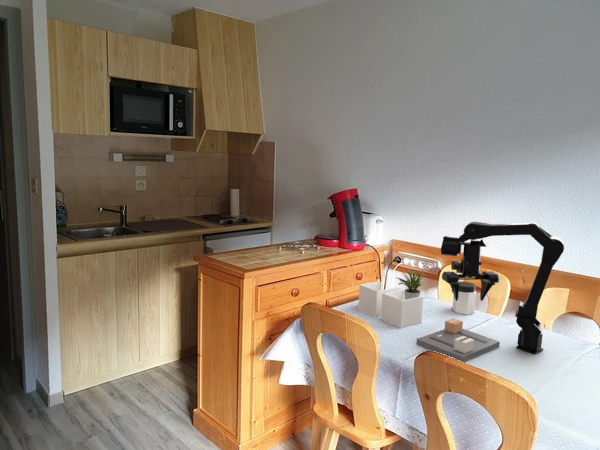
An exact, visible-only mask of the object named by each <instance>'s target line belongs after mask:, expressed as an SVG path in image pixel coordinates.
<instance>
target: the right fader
mask: <svg viewBox="0 0 600 450" xmlns="http://www.w3.org/2000/svg"><path fill="white" fill-rule="evenodd" d="M463 323H464V321H462V320H460V319H457V318H450V319H448V320H445V321H444V329H445V331H448V332H451V333H453V334H455V333H458V332H460V331H462V329H463V325H464V324H463Z"/></svg>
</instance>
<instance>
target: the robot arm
mask: <svg viewBox="0 0 600 450" xmlns="http://www.w3.org/2000/svg"><path fill="white" fill-rule="evenodd" d="M494 236H495V237H496V236H498V237H499V236H503V237H504V236H530V237H532V238H533V239H534V240H535V241H536V242H537V243H538V244H539V245H540V246H542V247H543V248H542V252H541V253H542V254H541V260H540V263H539V266H538V270H537V271H536V274H535V277H534V279H533V282H532V285H531V288H530V290H529V293H528V296H527V298H526V299H525V301H524V302H522V301H521V300H520V301H519V303H518V308H517V309H516V310H515V315H514V317H515V318H516V319H515V320H516V324H517V326H518V327H519V328H520V329H519V333H518V335H517V343H516V344H517V345H516V346H515V348H516V349H518V350H521V351H524V352H527V353H530V354H533V355H535V354H538V353H540V352H542V351H543V350H544V348H543V347H542V343H543V334H544V333H543V332H542V323H541V322H540V320H538V318H537V313H538V307H539V304H540V300H541V298H542V296H543V294H544V291H545V288H546V286H547V282H548V281H549V278H550V276H551V273H552V271H553V268H554V266H555V264H556V263H557V262H558V261H559V259H560V258H561V256H562V254H563V253H564V250H565V245H564V242H563V240H562V239H561V238H560V237H558V236H555V235H554V236H553V235H551V233H549V232H548V231H547V230H545V229H544V228H542V227H541V226H539V224H538V223H536V222H533V221H530V222H522V223H518V222H517V223H499V224H498V223H495V224H494V223H493V224H492V223H487V222H480V221H471V222H469V223H468V224H467V225H465V227H464V228H463V233H462V234H461V235H459V237H455V236H454V237H452V236H448V235H444V236H443V237H442V242H441V247H440V253H441V254H440V255H441V256H452V257H459V255H461V254H462V255H463V256H462V258H461V260H460V262H459V261H458V260H452V261H451V264H450V265H451V267H450V269H451V270H452V271H443V272H442V274H441V280H443V281H444V282H446V283H447V284H449V285H450V287H451V291H452V294H454V298H455V300H456V301H457V300H458V293H459V283H457V282H460V281H461V280H462V281H463V280H464V281H465V280H468V281H470V280H475V281H477V280H479V281H480V284H481V286H480V295H479V296H480V297H479V301H484V299H485V297H486V296H487V294H488V292H489V291H490V290H491V288H492V287H493V286H495V285H496V284H497V283H498V284H499V283H500V276H499V274H498V273H495V272H494V271H493V270H492V271H491V270H490V271H482V272H481V273H480V269H481V266H482V261H481V251H482V247H483V248H484V247H485V248H486V247H487V245H488V243H487V242H486V241H485V238H488V237H489V238H490V237H494ZM469 240H470V242H468V241H469ZM462 252H463V253H462ZM459 280H460V281H459Z"/></svg>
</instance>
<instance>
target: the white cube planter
mask: <svg viewBox="0 0 600 450" xmlns="http://www.w3.org/2000/svg"><path fill="white" fill-rule="evenodd" d="M381 285H382V282H381V281H373V282H367V283H362V284H359V288H358V291H359V292H358V308H357V309H358V310H359V311H361V312H363V311H364V313H365V312H366V313H365V314H368V315H370V316H371V317H374V316H375V318H377V317H380V320H381V321H384V322H385V321H386V323H388V324H390V325H392V326H394V327H396V328H399V329H405V328H408V327H413V326H417V325H421V324H422V320H423V319H422V317H423V306H424V305H423V304H424V296H422V295H420V296H419V297H417V298H412V299H407V300H405V295H404V293H405V289H399V290H398V287H397V286H394V287H392V288H387V289H381V288H382V286H381Z"/></svg>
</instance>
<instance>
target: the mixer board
mask: <svg viewBox="0 0 600 450" xmlns="http://www.w3.org/2000/svg"><path fill="white" fill-rule="evenodd" d="M461 336H465V337H470V338H471V339H474V349H473V350H472V351H470V352H467V353H462V352H459V351H457V350H454V340H455V339H456V338H459V337H461ZM500 344H501V342H500V341H499V340H496V339H493V338H492V337H491V338H490V337H487V336H485V335H482V334H479V333H476V332H473V331H470V330H468V329H466V328H465V329H464V328H462V331H460V332H458V333H455V334H453V333H451V332H448V331H445V328H444V329H441V330H438V331H435V332H433V333H429V334H426V335H424V336H423V335H422V336H420V337H419V338H418V337H417V338H416V345H417V346H419V347H422V348H423V349H427V350H429V351H432V352H434V351H436V352H439V353H442V354H445V355H447V356H450V357H453V358H455V359H457V360H460V361H462V362H464V363H466V362H469V361H471V360H473V359H475V358H477V357H479V356H482V355H485V354H486V353H489V352H491V351H493V350H495V349H498V348H500ZM436 352H435V353H436ZM439 353H438V354H439Z"/></svg>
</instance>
